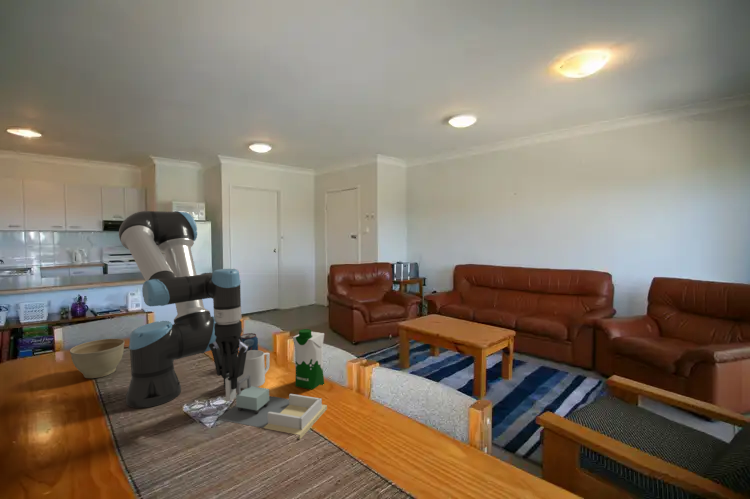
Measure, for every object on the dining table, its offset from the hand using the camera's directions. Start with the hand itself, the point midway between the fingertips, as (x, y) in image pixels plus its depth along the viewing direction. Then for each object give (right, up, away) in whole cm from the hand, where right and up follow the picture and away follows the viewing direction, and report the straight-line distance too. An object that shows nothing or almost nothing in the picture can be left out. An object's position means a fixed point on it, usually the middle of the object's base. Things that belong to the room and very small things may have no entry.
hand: (231, 398), depth 109 cm
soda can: (-6, -1, +34) cm, 34 cm away
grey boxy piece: (+7, -2, -2) cm, 8 cm away
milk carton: (+21, -2, +15) cm, 26 cm away
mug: (+2, -2, +17) cm, 17 cm away
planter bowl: (-60, -2, +27) cm, 66 cm away
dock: (+14, -3, -4) cm, 15 cm away
